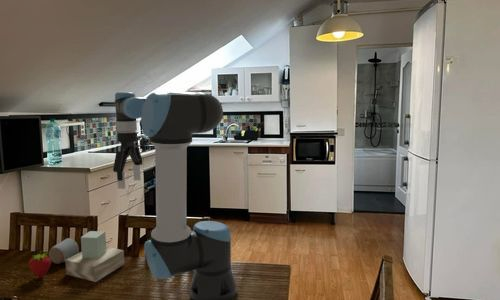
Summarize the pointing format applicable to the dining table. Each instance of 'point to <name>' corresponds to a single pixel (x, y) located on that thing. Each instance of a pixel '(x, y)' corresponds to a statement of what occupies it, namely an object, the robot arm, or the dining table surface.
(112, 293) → the dining table surface
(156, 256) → the robot arm
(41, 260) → the strawberry
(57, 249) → the ceramic mug
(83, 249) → the sage block
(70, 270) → the birch block
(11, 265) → the dining table surface
